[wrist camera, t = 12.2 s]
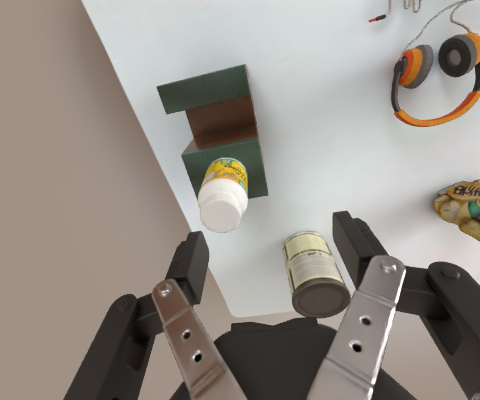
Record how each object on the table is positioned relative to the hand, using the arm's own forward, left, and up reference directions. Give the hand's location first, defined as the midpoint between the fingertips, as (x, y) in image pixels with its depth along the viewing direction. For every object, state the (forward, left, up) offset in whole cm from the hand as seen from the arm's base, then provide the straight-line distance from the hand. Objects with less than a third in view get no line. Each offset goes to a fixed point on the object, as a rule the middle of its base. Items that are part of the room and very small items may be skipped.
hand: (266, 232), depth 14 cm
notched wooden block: (-1, -5, -30) cm, 30 cm away
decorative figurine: (+22, +36, -30) cm, 52 cm away
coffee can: (+30, +6, -30) cm, 43 cm away
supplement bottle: (+3, -4, -17) cm, 18 cm away
